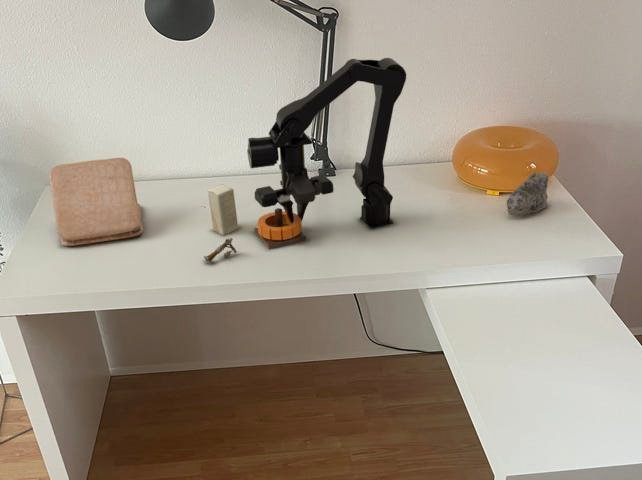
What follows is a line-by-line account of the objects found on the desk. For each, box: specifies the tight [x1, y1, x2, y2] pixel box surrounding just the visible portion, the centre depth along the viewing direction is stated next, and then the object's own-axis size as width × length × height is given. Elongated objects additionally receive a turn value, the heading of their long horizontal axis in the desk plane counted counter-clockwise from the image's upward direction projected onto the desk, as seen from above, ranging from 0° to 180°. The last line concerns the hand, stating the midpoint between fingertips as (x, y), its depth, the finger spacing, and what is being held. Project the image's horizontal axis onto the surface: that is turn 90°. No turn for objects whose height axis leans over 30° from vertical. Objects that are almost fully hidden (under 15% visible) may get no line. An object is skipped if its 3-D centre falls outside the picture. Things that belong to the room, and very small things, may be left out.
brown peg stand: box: [253, 207, 307, 250], centre depth 187 cm, size 10×10×7 cm
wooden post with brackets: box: [203, 237, 238, 265], centre depth 180 cm, size 2×8×4 cm, turn 124°
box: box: [207, 184, 239, 236], centre depth 190 cm, size 5×4×11 cm
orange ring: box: [257, 210, 303, 240], centre depth 188 cm, size 11×11×3 cm
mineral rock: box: [506, 171, 549, 216], centre depth 194 cm, size 13×11×10 cm
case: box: [48, 157, 144, 247], centre depth 193 cm, size 20×21×16 cm
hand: (296, 222), depth 189 cm, fingers closed on orange ring, 2 cm apart
